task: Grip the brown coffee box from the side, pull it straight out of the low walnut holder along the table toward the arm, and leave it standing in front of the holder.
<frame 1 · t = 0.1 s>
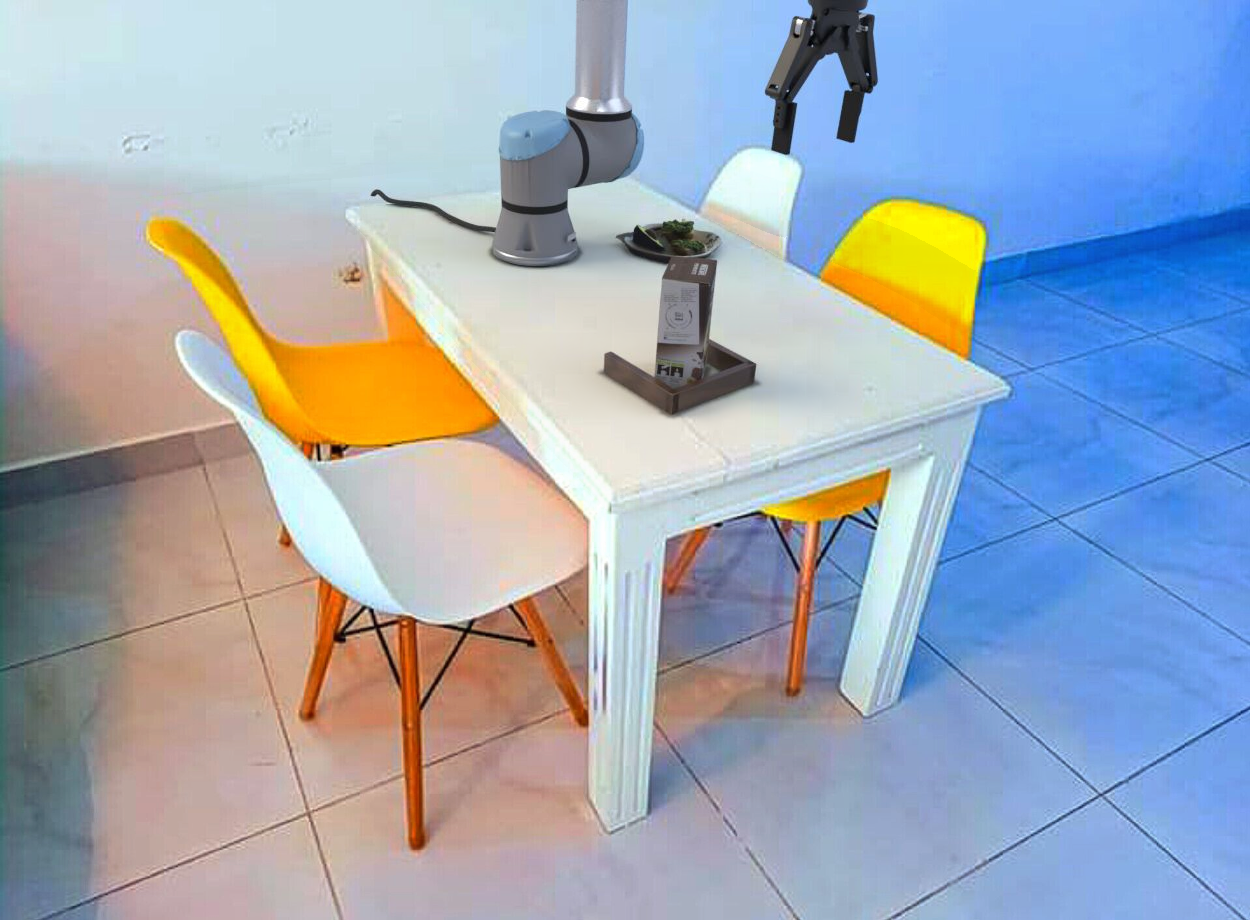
hand: (813, 146, 126), 28 cm above the table, tool pointing down, fingers open, 13 cm apart
walnut holder: (675, 376, 127), on the table
coffee box: (680, 380, 127), on the table
salad plate: (669, 249, 170), on the table
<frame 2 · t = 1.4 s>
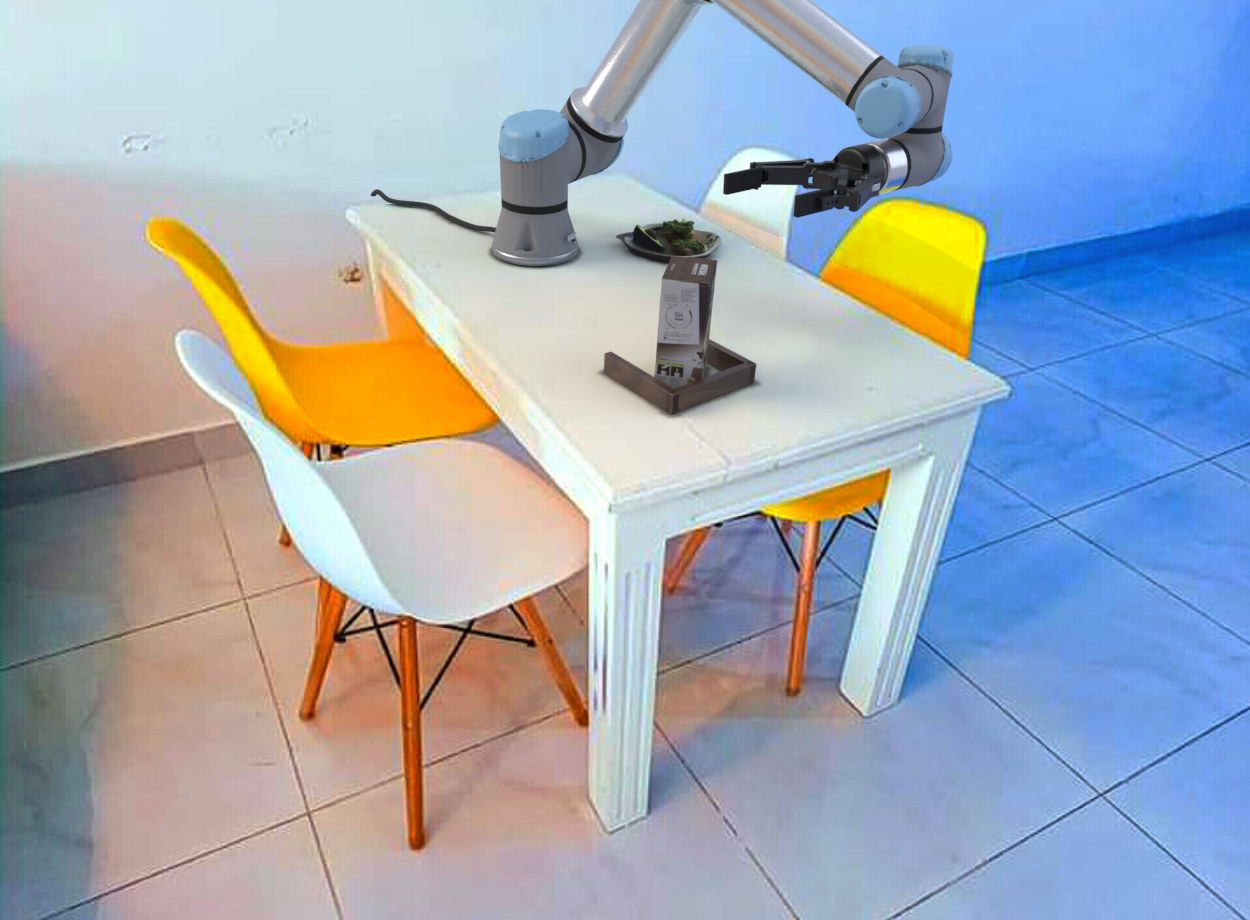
hand: (759, 195, 121), 23 cm above the table, tool horizontal, fingers open, 13 cm apart
nothing on the table moved.
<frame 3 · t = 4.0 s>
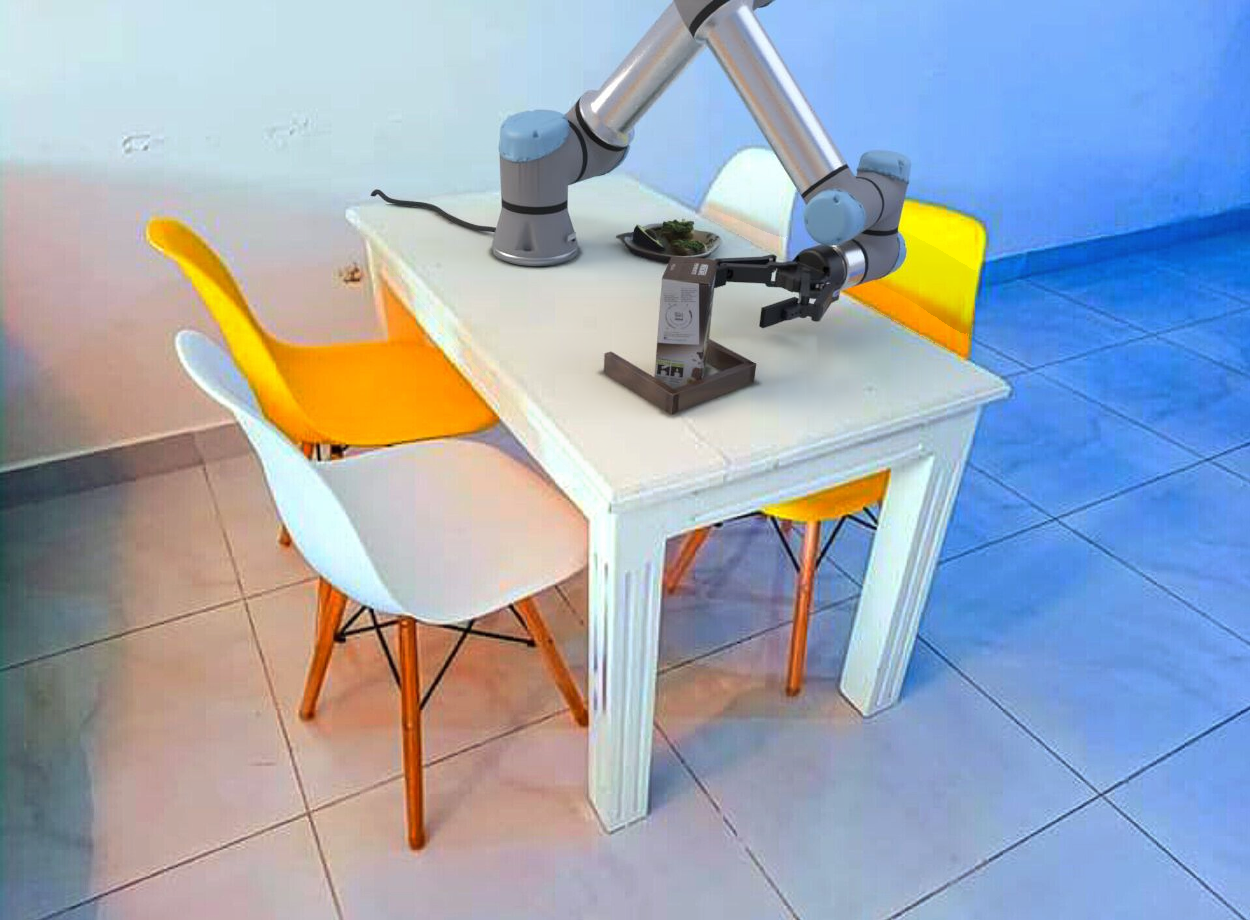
hand: (725, 301, 125), 10 cm above the table, tool horizontal, fingers open, 13 cm apart
nothing on the table moved.
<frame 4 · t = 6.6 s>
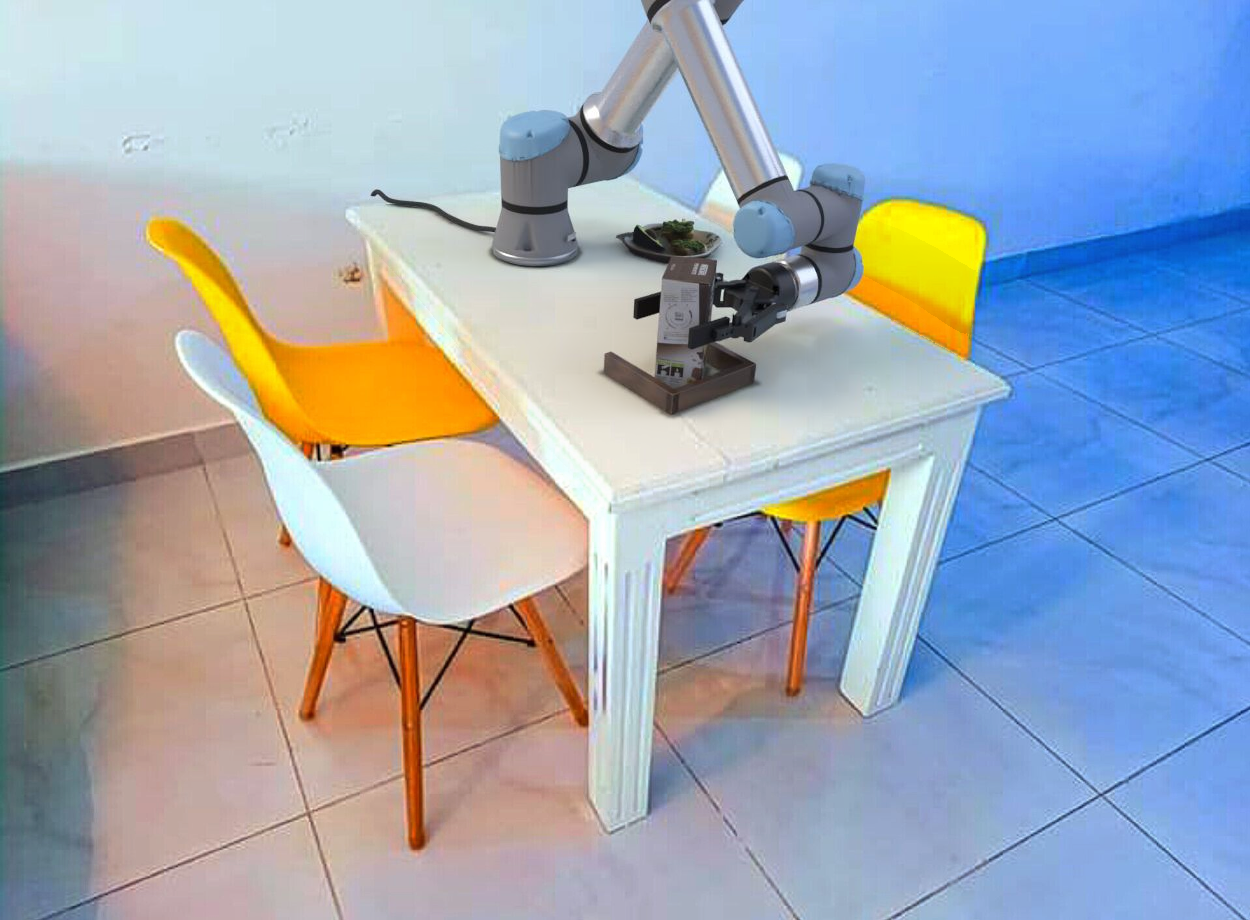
hand: (662, 323, 119), 9 cm above the table, tool horizontal, fingers closed on coffee box, 10 cm apart
coffee box: (680, 380, 127), on the table, touching gripper
everything else where it was.
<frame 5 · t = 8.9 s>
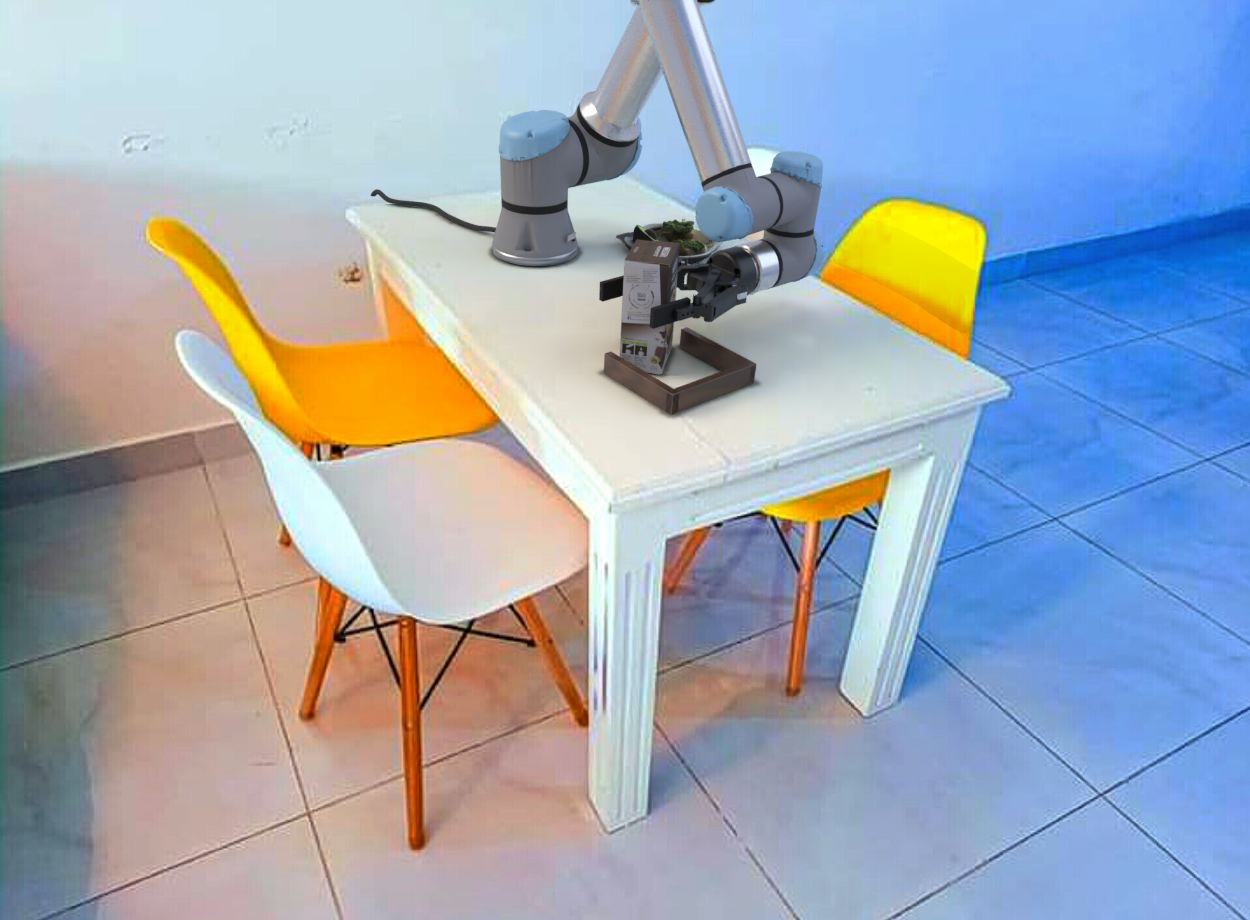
hand: (625, 304, 124), 9 cm above the table, tool horizontal, fingers closed on coffee box, 10 cm apart
coffee box: (646, 359, 131), on the table, touching gripper
everything else where it was.
when the fingers open (9 cm above the table, at t = 11.1 s): coffee box stays where it is, on the table.
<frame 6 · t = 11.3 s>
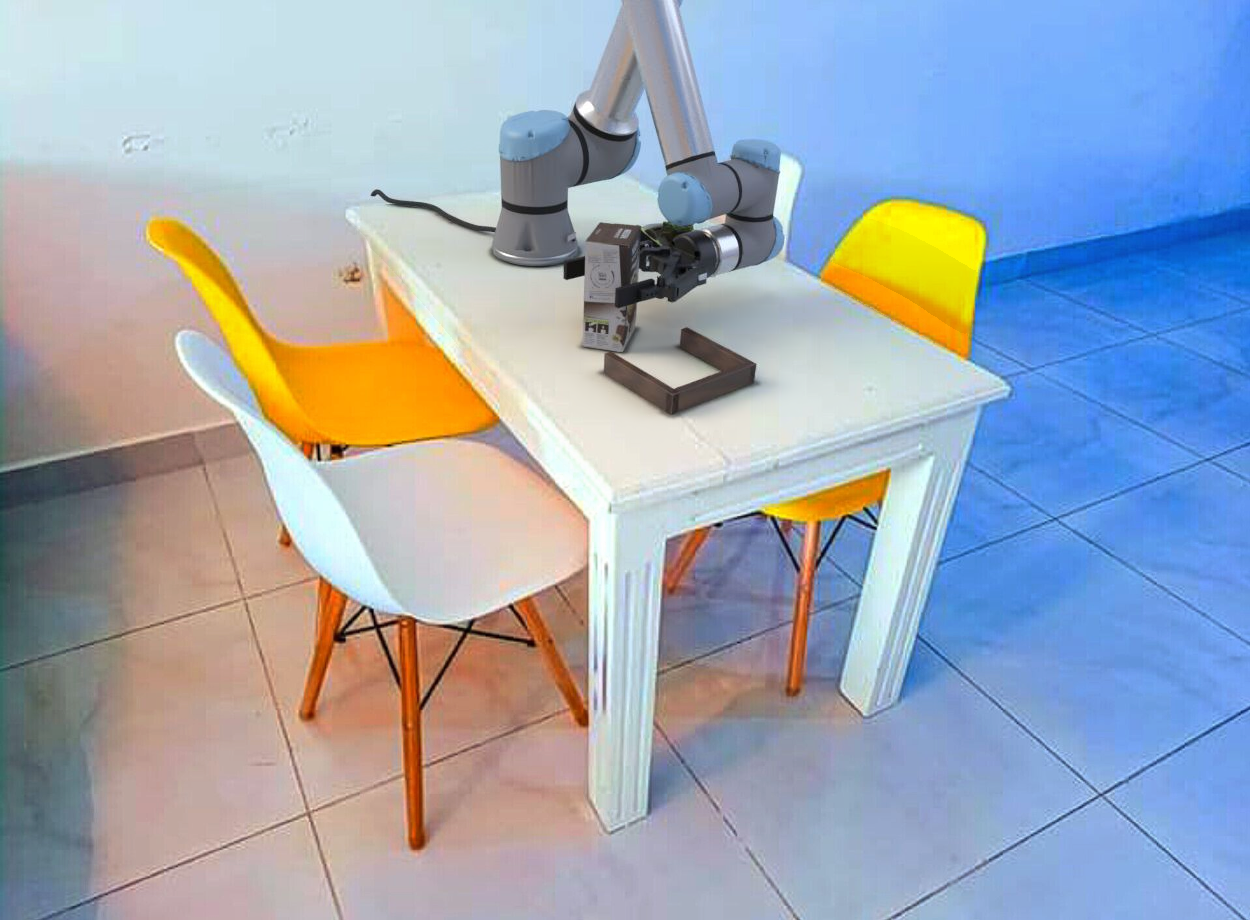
hand: (590, 284, 130), 9 cm above the table, tool horizontal, fingers open, 11 cm apart
coffee box: (609, 338, 137), on the table
everything else where it was.
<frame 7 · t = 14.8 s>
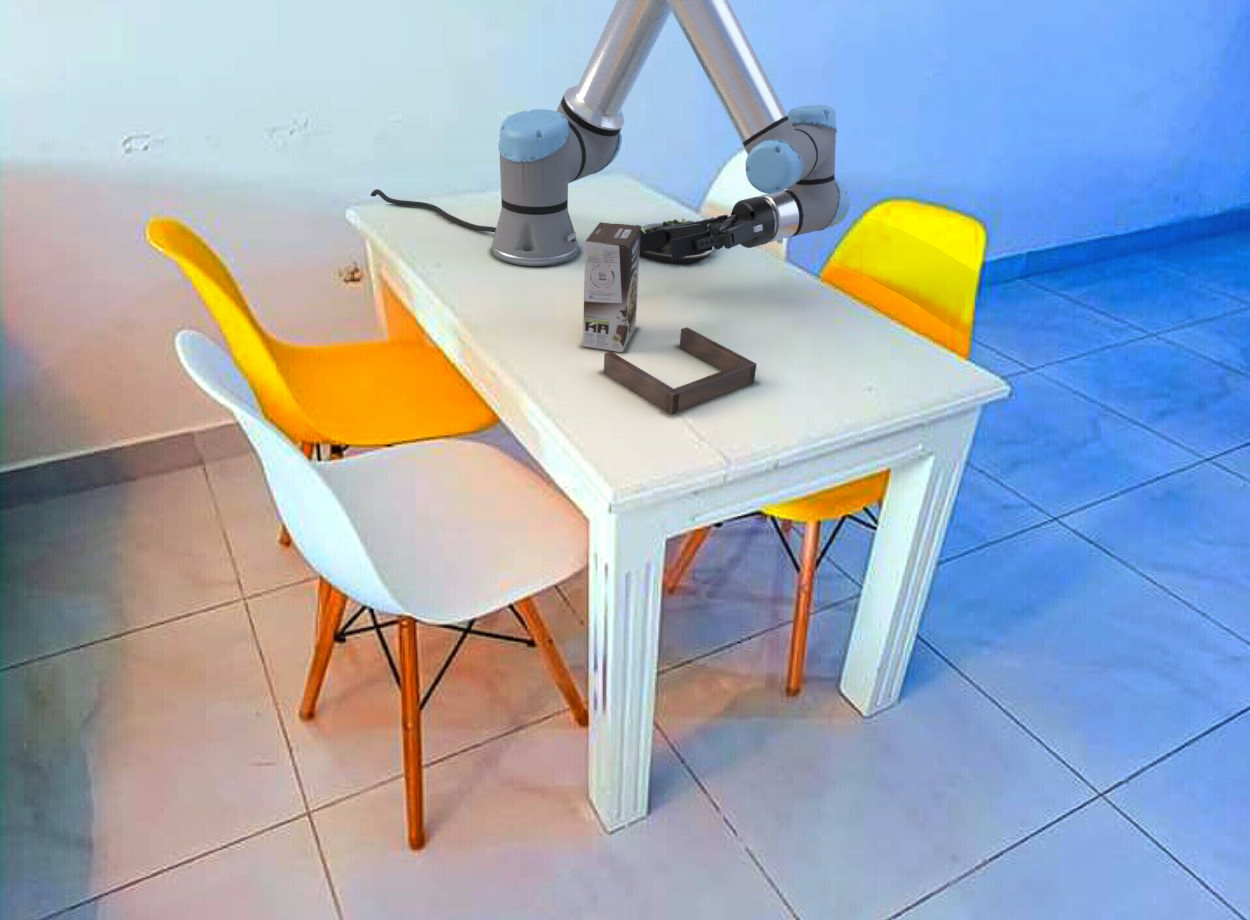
hand: (648, 248, 137), 11 cm above the table, tool horizontal, fingers open, 13 cm apart
nothing on the table moved.
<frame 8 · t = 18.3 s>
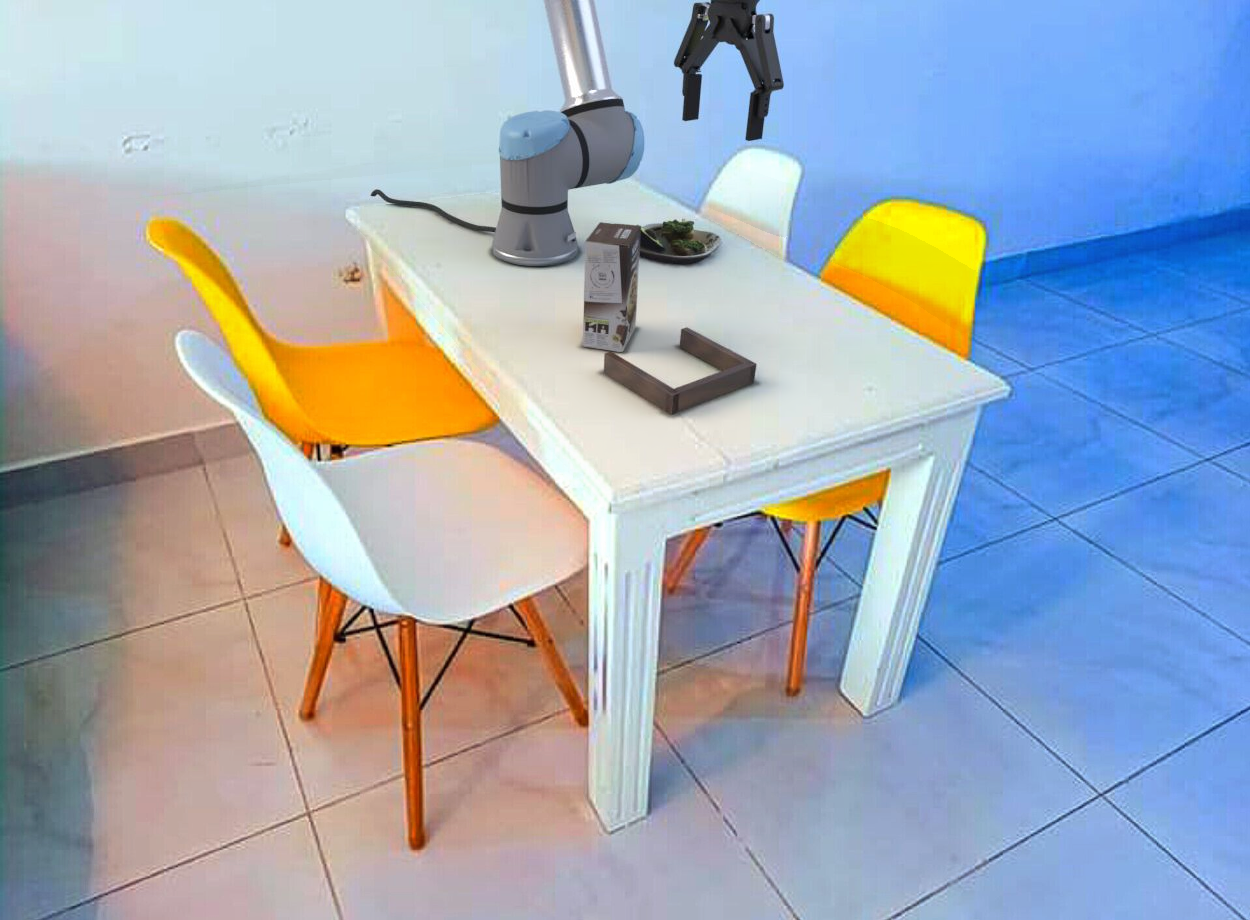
hand: (720, 129, 137), 27 cm above the table, tool pointing down, fingers open, 13 cm apart
nothing on the table moved.
at the end: coffee box inside the target area (0.1 cm from its centre), on the table; coffee box tilted 0°; the gripper is holding nothing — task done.
